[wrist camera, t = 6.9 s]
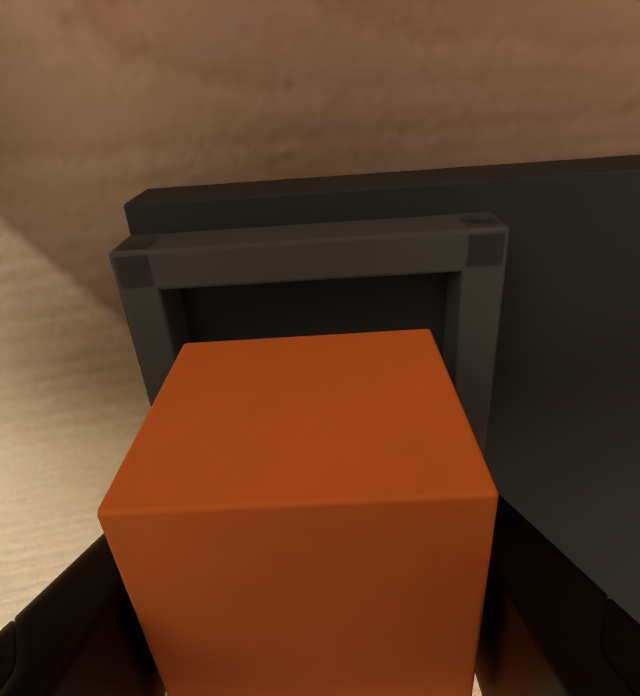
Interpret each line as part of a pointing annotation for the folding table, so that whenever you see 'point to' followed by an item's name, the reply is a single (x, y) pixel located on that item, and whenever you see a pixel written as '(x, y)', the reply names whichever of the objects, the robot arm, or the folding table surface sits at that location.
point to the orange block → (307, 520)
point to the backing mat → (437, 312)
